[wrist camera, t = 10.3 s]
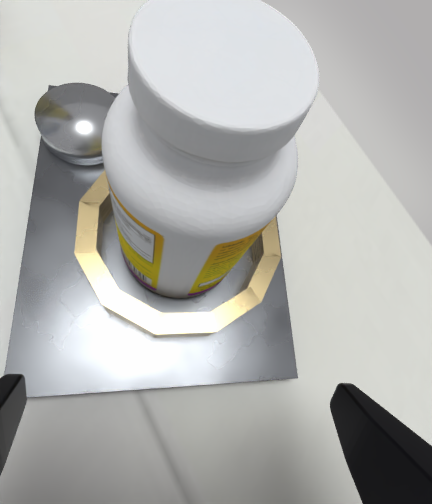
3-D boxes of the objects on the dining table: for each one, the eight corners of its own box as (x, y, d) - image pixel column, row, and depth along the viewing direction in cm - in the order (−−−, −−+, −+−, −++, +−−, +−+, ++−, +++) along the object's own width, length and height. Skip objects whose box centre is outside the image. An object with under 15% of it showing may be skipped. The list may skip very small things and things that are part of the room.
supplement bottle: (239, 212, 21) (362, 9, 9) (222, 311, 18) (361, 207, 7) (137, 185, 20) (130, -77, 8) (105, 285, 18) (29, 113, 6)
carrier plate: (290, 377, 19) (315, 378, 16) (8, 397, 16) (-20, 403, 13) (258, 120, 25) (272, 90, 23) (52, 97, 22) (40, 58, 19)
